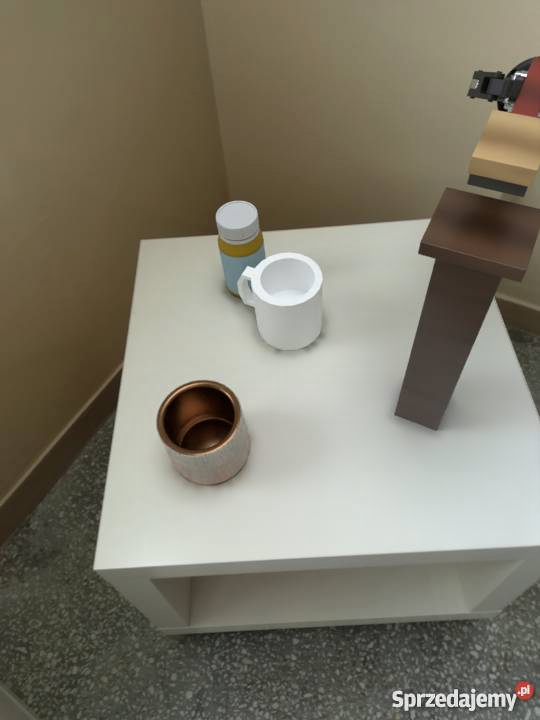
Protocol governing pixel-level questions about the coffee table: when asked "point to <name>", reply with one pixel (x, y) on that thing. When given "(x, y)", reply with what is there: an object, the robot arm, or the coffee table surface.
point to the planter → (204, 431)
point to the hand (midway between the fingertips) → (532, 92)
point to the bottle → (239, 241)
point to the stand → (461, 291)
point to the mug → (285, 299)
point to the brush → (510, 143)
